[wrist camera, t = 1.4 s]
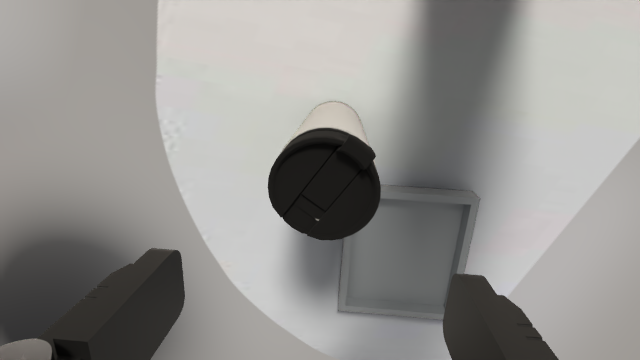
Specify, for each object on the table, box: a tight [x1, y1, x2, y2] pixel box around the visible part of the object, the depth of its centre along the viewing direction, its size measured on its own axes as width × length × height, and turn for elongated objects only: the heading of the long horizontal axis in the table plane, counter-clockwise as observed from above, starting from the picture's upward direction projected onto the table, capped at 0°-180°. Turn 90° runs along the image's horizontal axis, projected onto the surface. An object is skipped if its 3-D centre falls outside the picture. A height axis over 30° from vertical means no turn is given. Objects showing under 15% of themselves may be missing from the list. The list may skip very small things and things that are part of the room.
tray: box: [338, 185, 480, 320], centre depth 39 cm, size 16×14×2 cm
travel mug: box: [268, 101, 381, 240], centre depth 27 cm, size 6×7×20 cm
